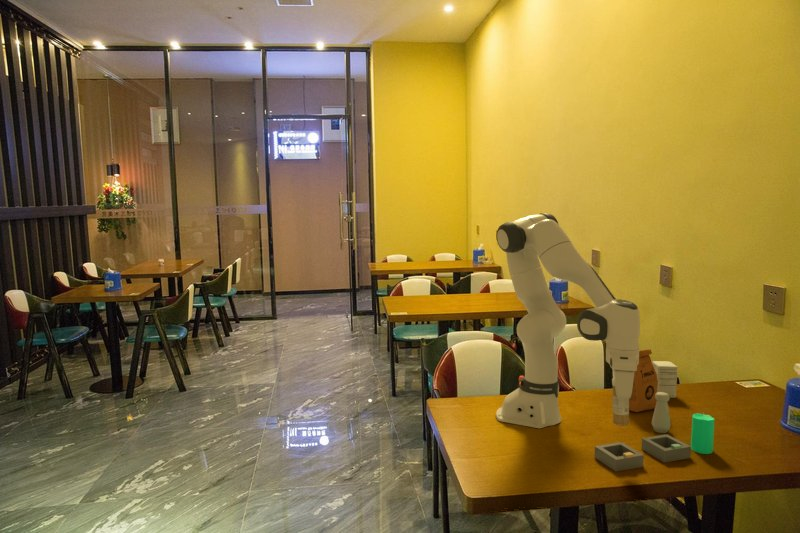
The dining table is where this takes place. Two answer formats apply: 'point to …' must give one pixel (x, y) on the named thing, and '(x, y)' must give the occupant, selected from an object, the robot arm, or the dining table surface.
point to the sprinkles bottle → (620, 409)
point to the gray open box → (626, 456)
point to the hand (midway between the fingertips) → (620, 403)
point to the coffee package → (644, 384)
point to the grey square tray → (666, 448)
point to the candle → (702, 433)
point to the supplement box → (666, 377)
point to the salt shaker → (661, 413)
